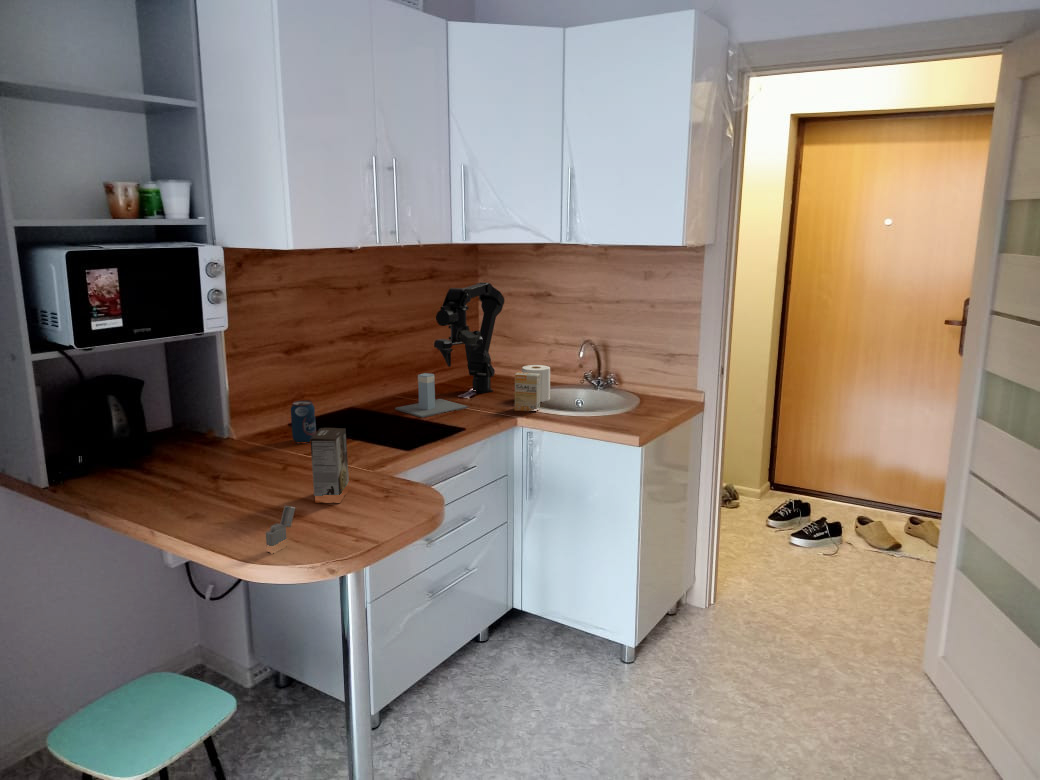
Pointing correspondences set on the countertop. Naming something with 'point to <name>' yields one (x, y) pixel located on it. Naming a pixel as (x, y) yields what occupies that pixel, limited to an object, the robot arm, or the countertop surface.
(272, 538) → the lighter
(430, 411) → the grey mat
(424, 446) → the countertop surface
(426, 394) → the blue block
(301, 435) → the soda can
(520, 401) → the supplement box
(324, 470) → the coffee box
